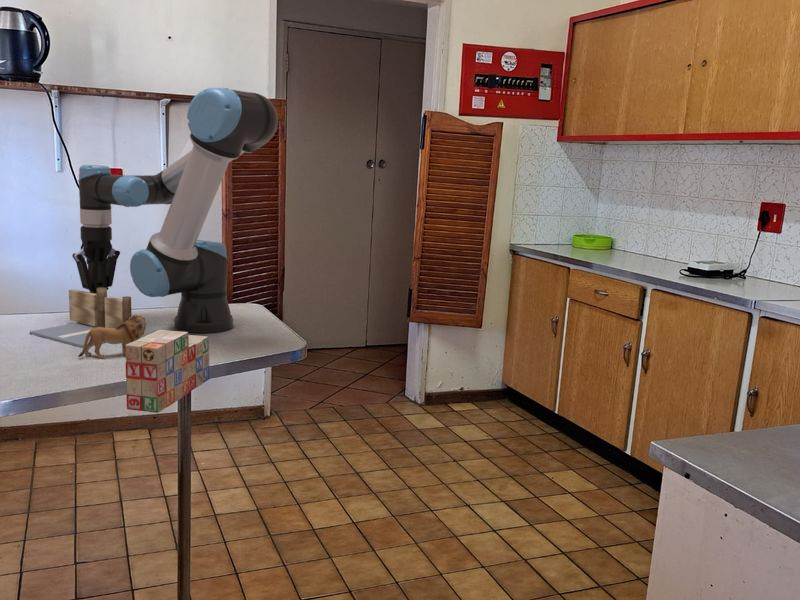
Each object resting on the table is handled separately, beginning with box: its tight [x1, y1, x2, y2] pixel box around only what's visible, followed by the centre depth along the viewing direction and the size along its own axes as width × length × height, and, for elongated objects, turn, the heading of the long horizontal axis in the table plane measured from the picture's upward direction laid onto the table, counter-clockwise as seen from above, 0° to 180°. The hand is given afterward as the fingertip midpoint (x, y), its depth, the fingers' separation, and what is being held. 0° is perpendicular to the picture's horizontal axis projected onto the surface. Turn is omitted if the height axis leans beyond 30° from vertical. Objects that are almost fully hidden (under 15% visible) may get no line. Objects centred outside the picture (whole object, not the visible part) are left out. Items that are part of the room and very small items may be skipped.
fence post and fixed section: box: [97, 287, 133, 328], centre depth 184 cm, size 12×2×11 cm, turn 59°
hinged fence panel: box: [68, 288, 98, 326], centre depth 190 cm, size 10×2×8 cm, turn 59°
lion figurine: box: [77, 314, 147, 360], centre depth 165 cm, size 15×5×9 cm, turn 125°
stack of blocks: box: [125, 329, 210, 414], centre depth 142 cm, size 21×6×12 cm, turn 169°
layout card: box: [29, 322, 144, 348], centre depth 183 cm, size 20×18×1 cm
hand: (98, 314), depth 196 cm, fingers closed
